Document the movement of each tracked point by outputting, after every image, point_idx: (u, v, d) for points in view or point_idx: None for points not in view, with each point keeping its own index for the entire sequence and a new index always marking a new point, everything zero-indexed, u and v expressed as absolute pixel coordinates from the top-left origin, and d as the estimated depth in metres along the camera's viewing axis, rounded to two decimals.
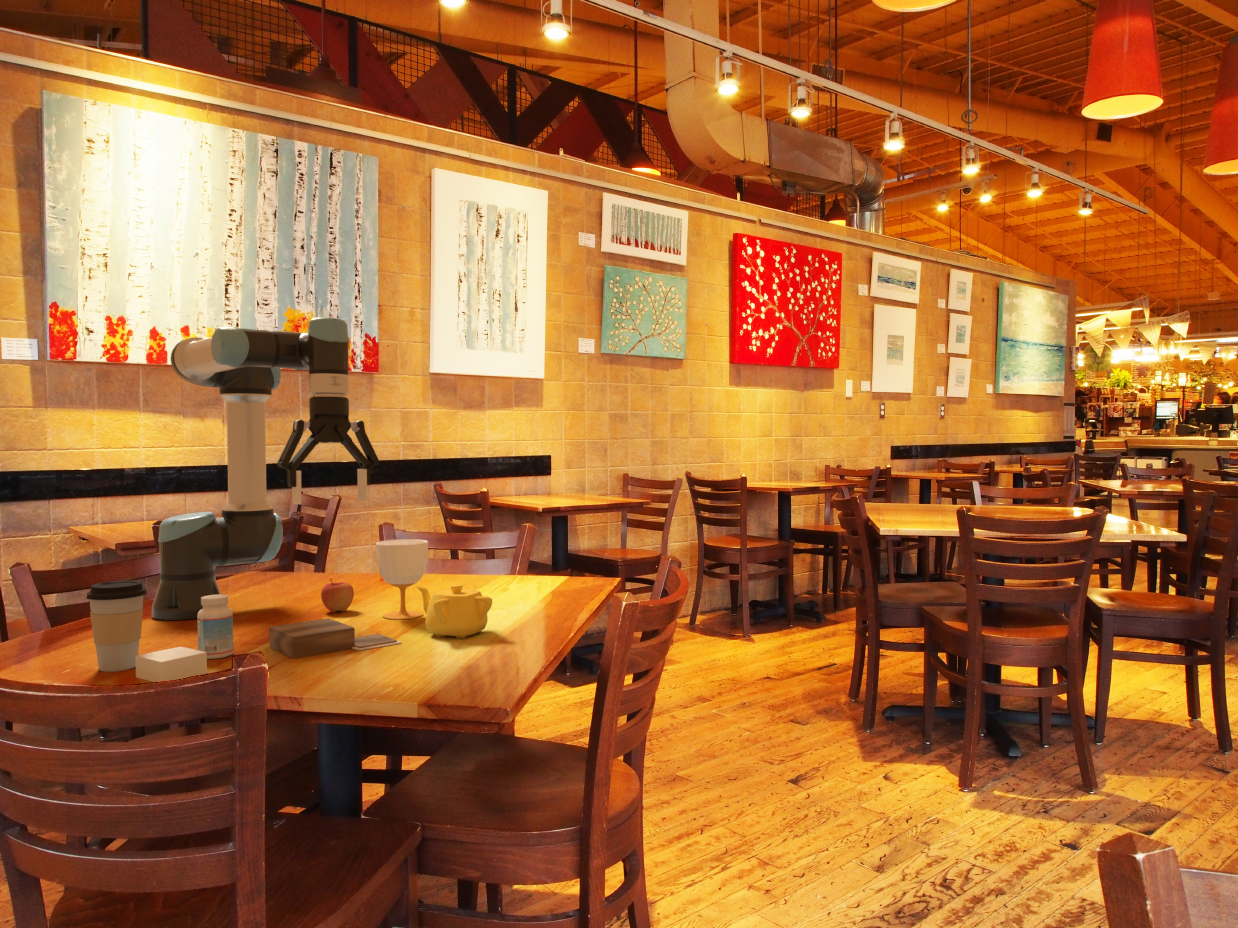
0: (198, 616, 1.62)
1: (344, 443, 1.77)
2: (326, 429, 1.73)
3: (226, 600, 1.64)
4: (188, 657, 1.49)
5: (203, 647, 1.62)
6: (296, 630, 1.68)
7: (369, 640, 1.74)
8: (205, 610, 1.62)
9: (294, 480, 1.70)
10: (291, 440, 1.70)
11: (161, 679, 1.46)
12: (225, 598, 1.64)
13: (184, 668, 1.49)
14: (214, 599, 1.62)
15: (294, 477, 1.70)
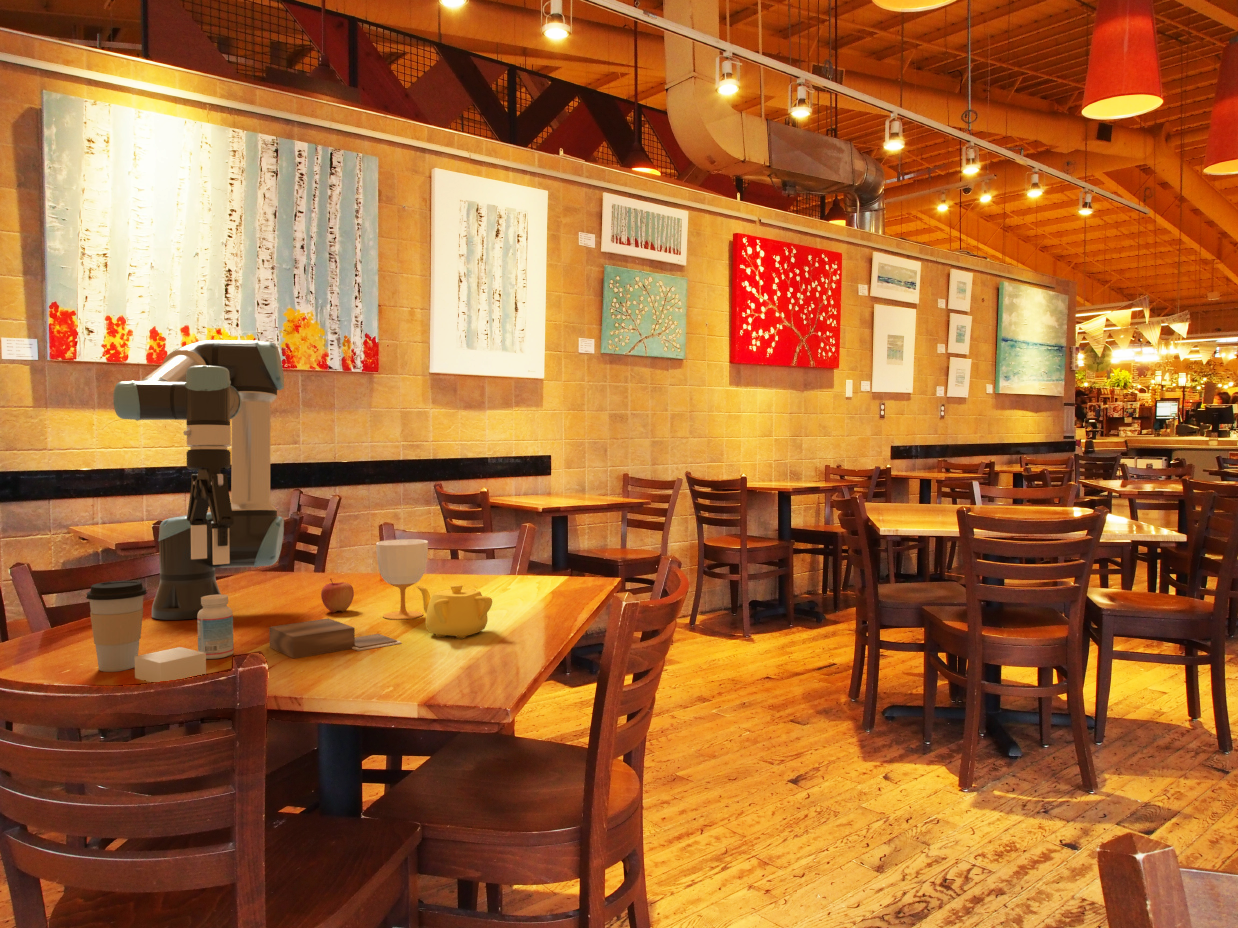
0: (198, 616, 1.62)
1: None
2: (195, 484, 1.64)
3: (226, 600, 1.64)
4: (187, 658, 1.49)
5: (203, 647, 1.62)
6: (296, 630, 1.68)
7: (369, 640, 1.74)
8: (205, 610, 1.62)
9: None
10: None
11: (160, 680, 1.45)
12: (225, 598, 1.64)
13: (183, 669, 1.48)
14: (214, 599, 1.62)
15: None
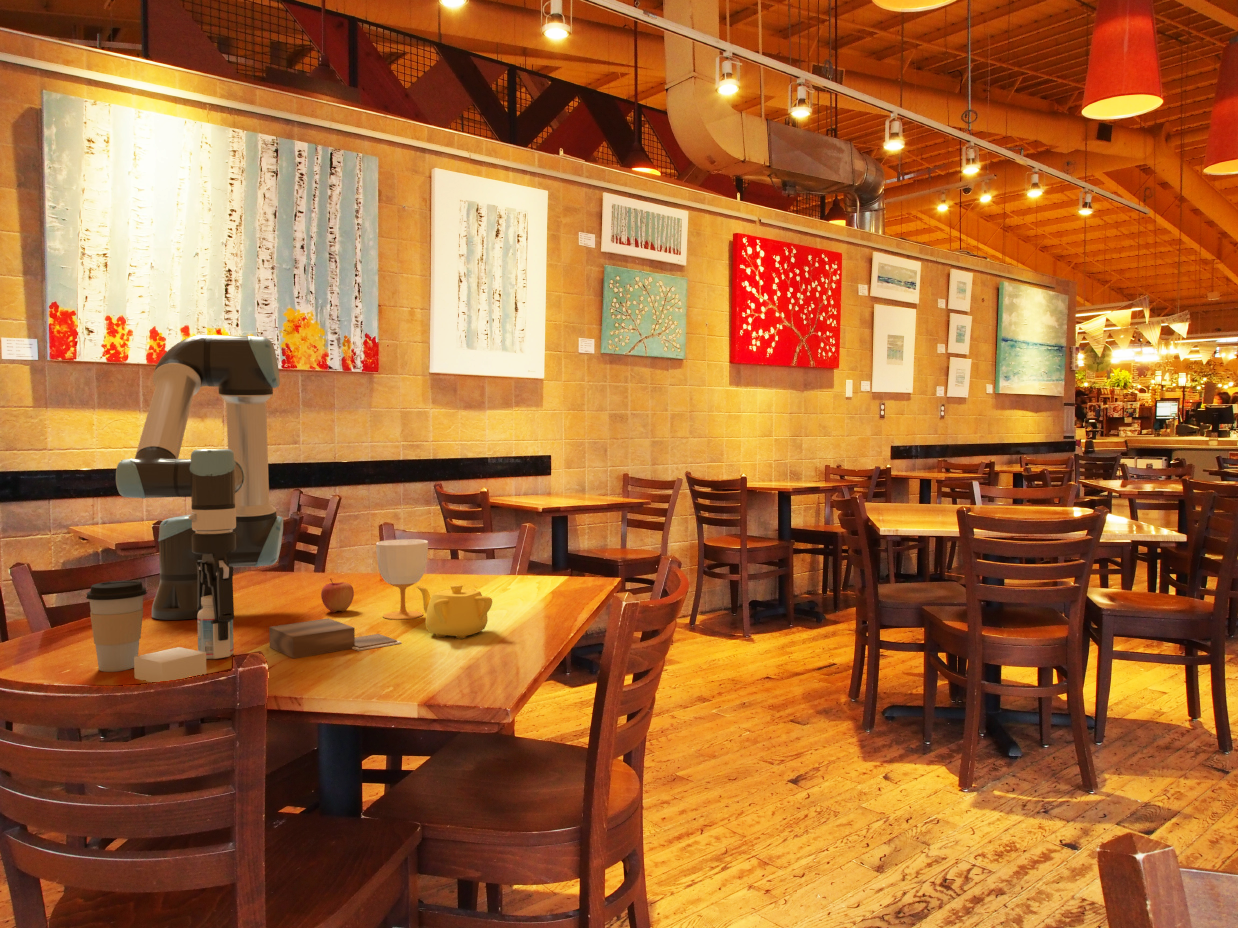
0: (198, 616, 1.62)
1: None
2: (201, 567, 1.64)
3: None
4: (188, 658, 1.49)
5: (203, 647, 1.62)
6: (296, 630, 1.68)
7: (369, 640, 1.74)
8: (205, 610, 1.62)
9: None
10: None
11: (161, 680, 1.45)
12: None
13: (184, 669, 1.48)
14: None
15: None
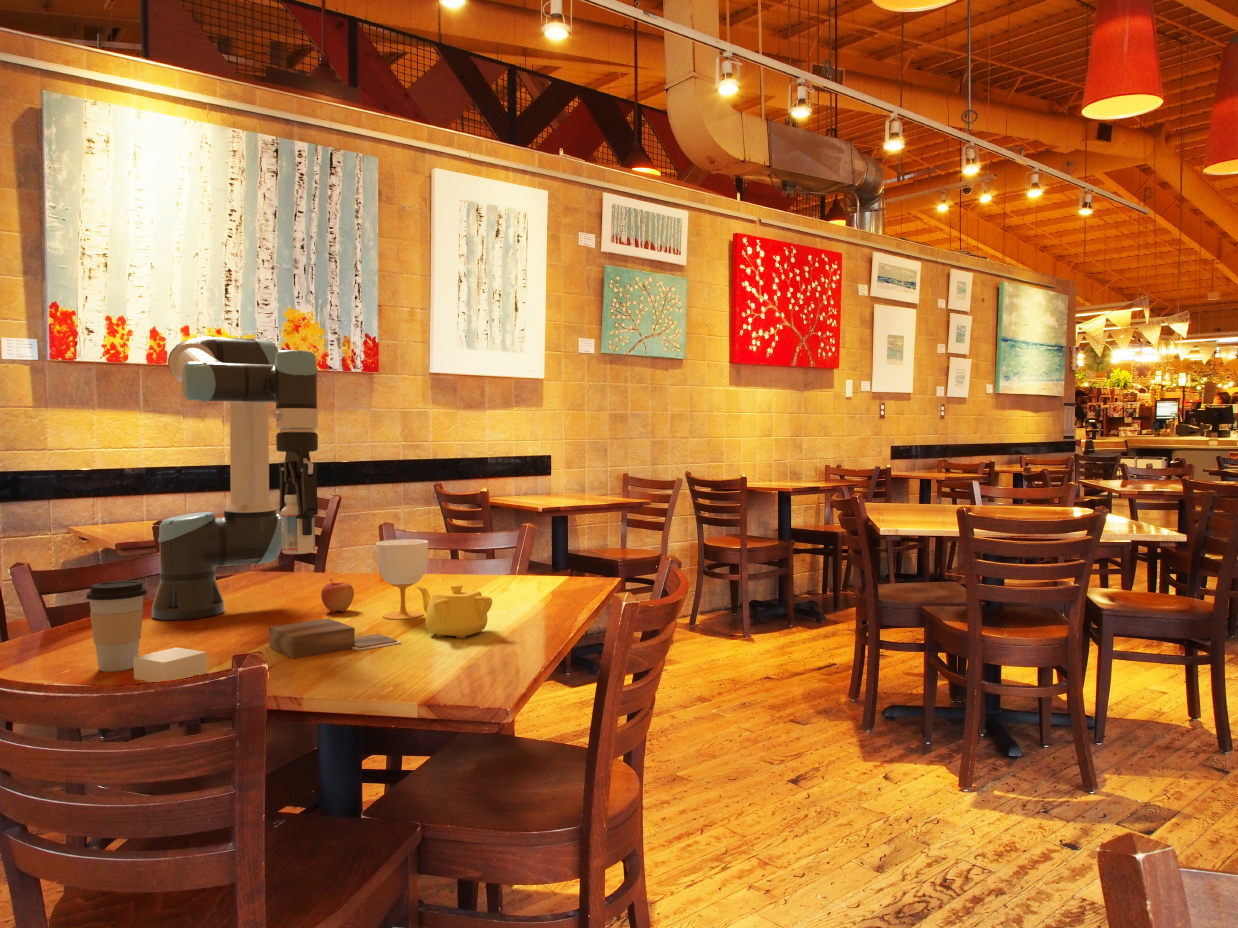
0: (282, 513, 1.67)
1: None
2: (284, 466, 1.68)
3: None
4: (189, 657, 1.49)
5: (287, 543, 1.66)
6: (296, 630, 1.68)
7: (369, 640, 1.74)
8: (289, 507, 1.67)
9: None
10: None
11: (164, 679, 1.45)
12: None
13: (185, 668, 1.49)
14: None
15: None
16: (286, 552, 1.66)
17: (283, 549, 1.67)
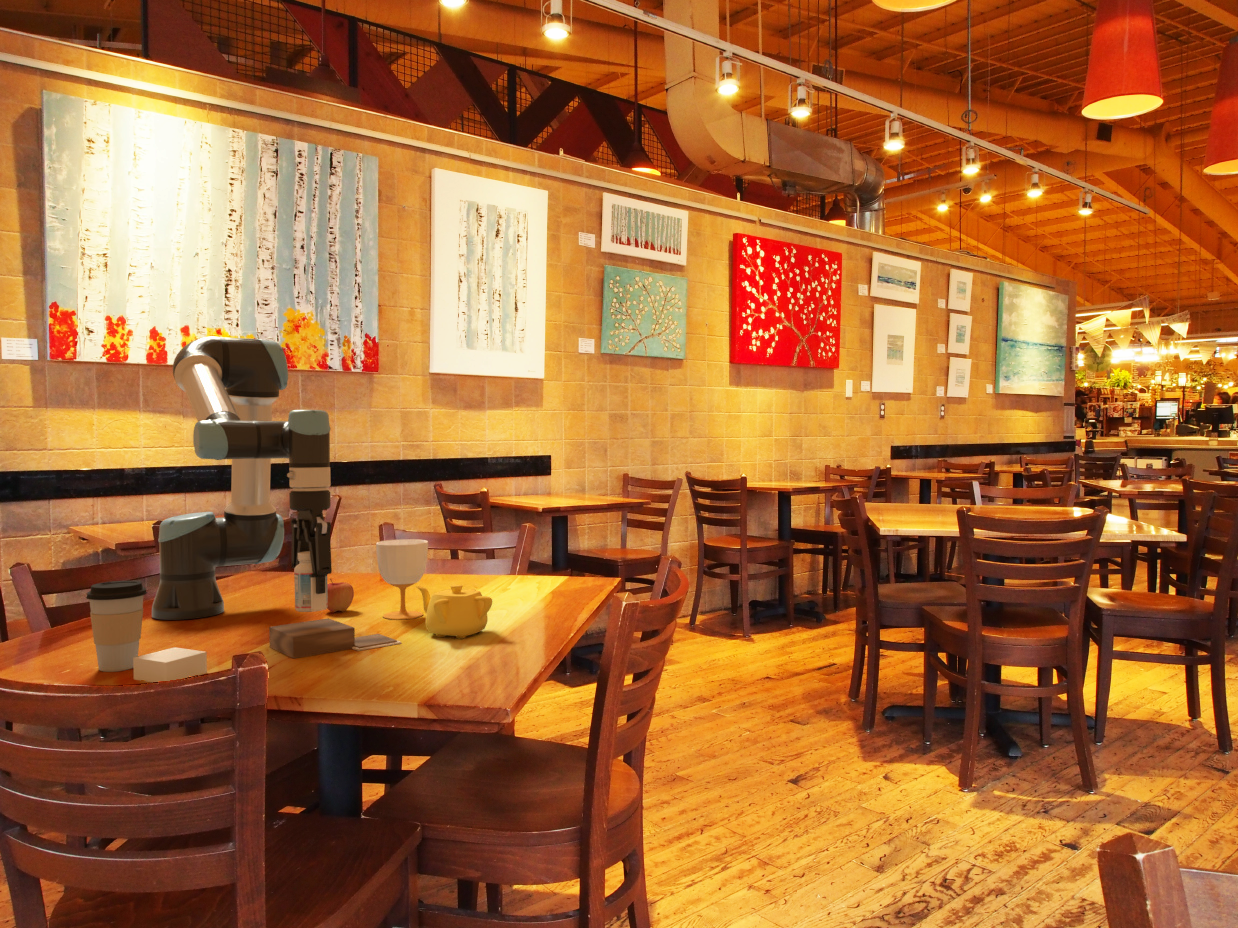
0: (295, 571, 1.68)
1: None
2: (297, 524, 1.70)
3: None
4: (190, 657, 1.49)
5: (300, 601, 1.67)
6: (296, 630, 1.68)
7: (369, 640, 1.74)
8: (302, 565, 1.68)
9: None
10: None
11: (165, 679, 1.45)
12: None
13: (186, 668, 1.49)
14: None
15: None
16: (299, 610, 1.68)
17: (296, 607, 1.68)
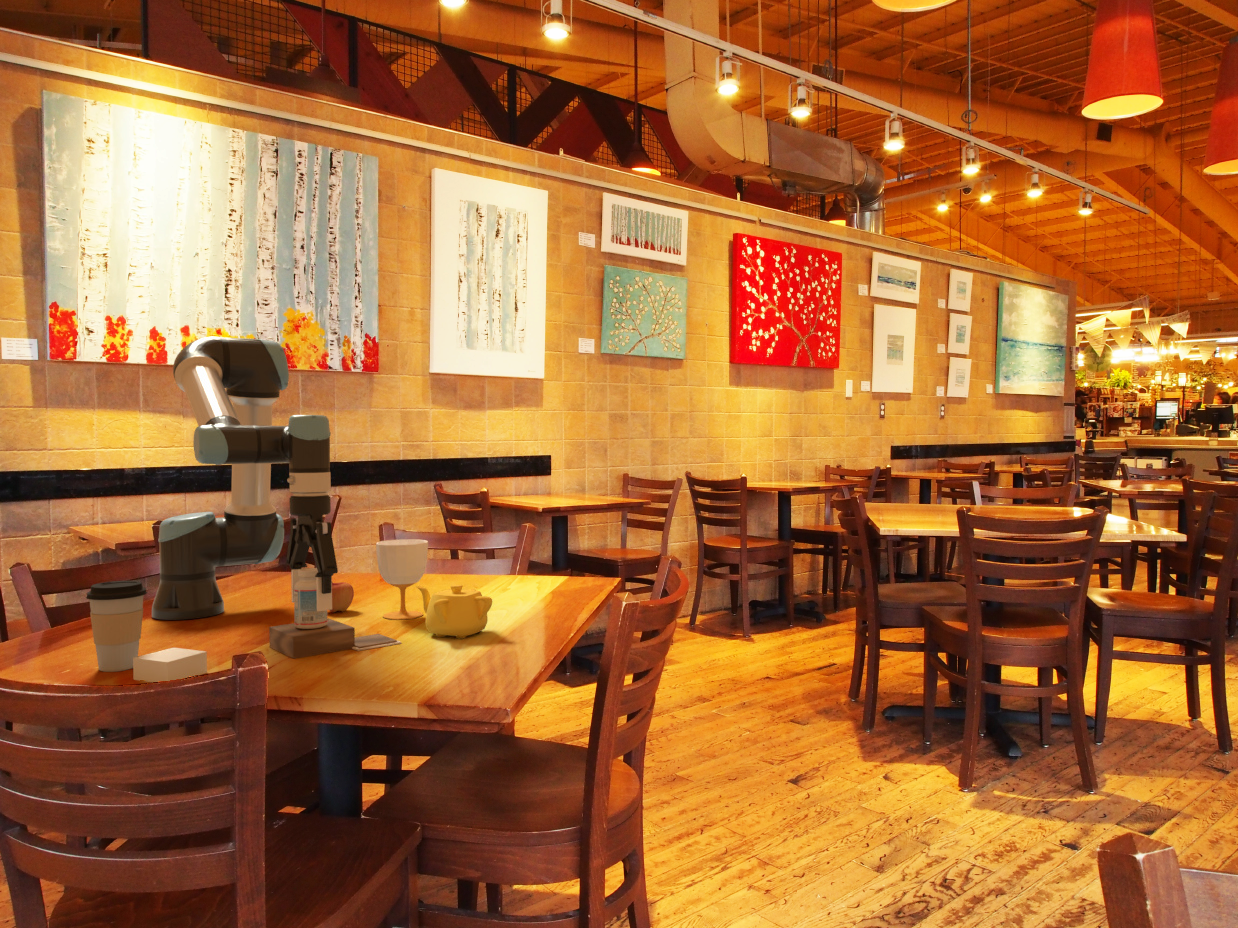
0: (295, 587, 1.69)
1: None
2: (297, 528, 1.70)
3: None
4: (191, 657, 1.50)
5: (300, 618, 1.68)
6: (296, 630, 1.68)
7: (369, 640, 1.74)
8: (302, 582, 1.68)
9: None
10: None
11: (167, 679, 1.45)
12: None
13: (187, 668, 1.49)
14: (311, 571, 1.69)
15: None
16: (299, 627, 1.68)
17: (296, 624, 1.69)
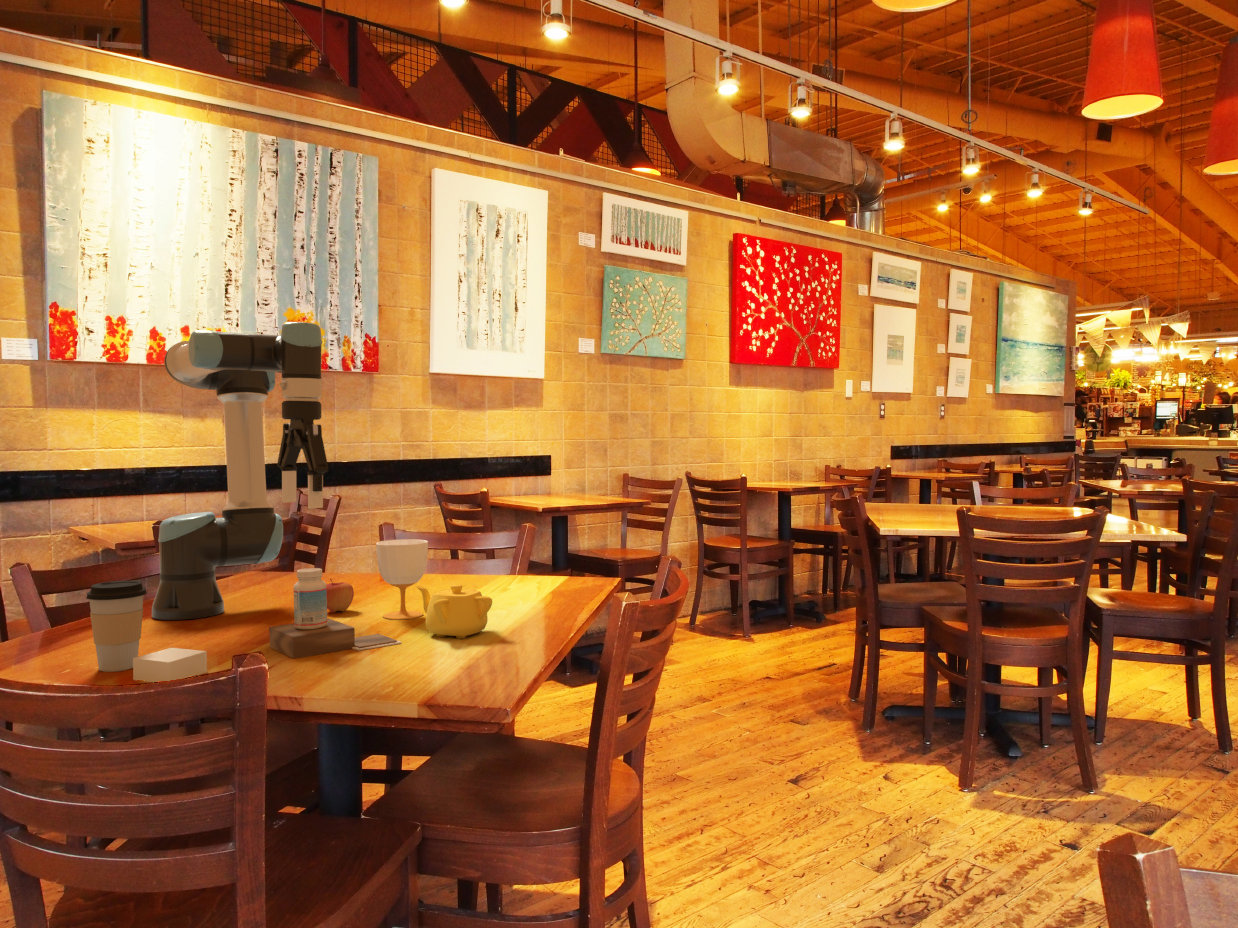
0: (295, 588, 1.68)
1: None
2: (289, 432, 1.76)
3: (320, 573, 1.70)
4: (191, 656, 1.50)
5: (300, 619, 1.68)
6: (296, 630, 1.68)
7: (369, 640, 1.74)
8: (301, 583, 1.68)
9: None
10: None
11: (169, 679, 1.45)
12: (320, 571, 1.70)
13: (188, 668, 1.49)
14: (310, 572, 1.68)
15: None
16: (299, 627, 1.68)
17: (296, 624, 1.68)
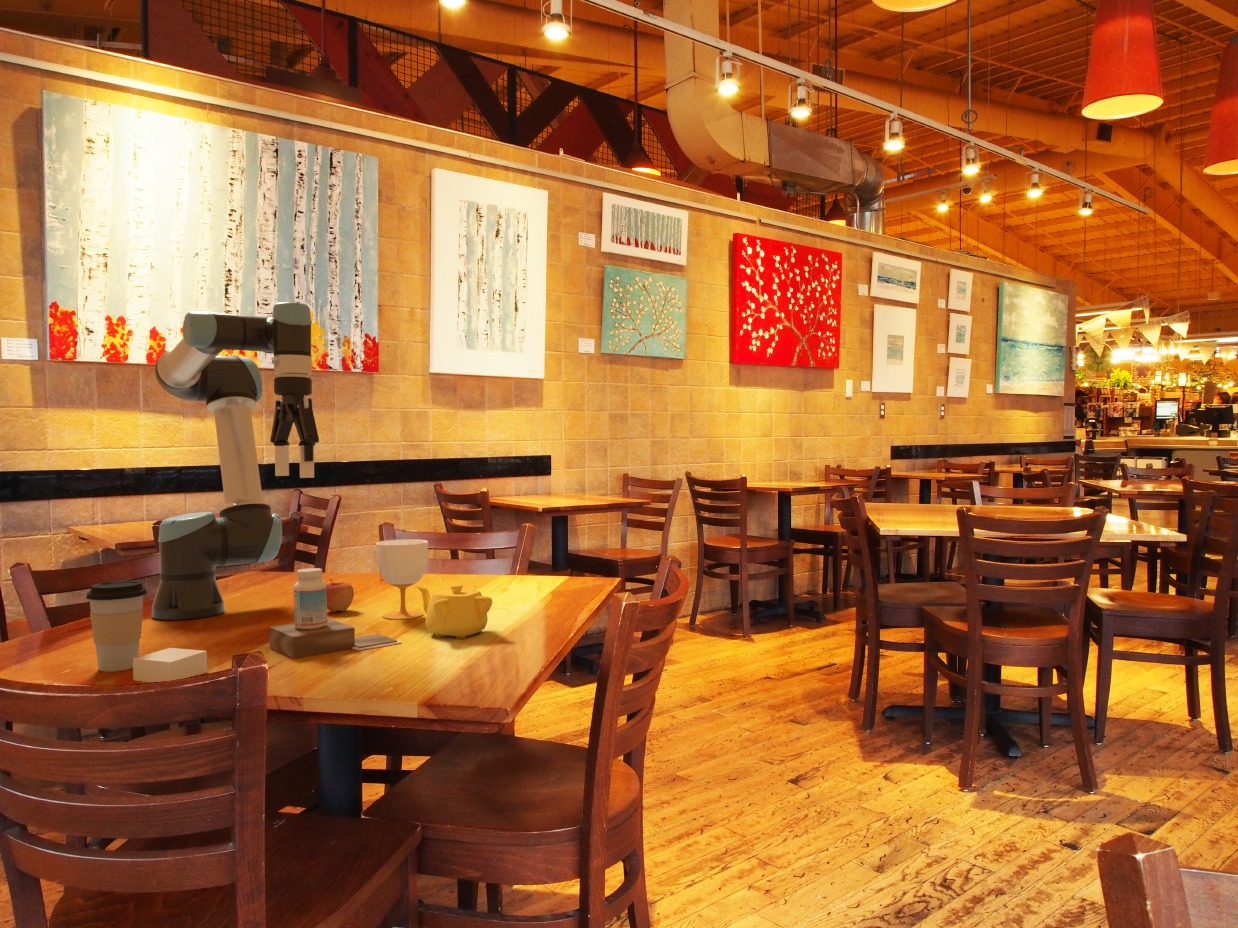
0: (294, 588, 1.68)
1: None
2: (281, 408, 1.85)
3: (320, 573, 1.70)
4: (192, 656, 1.50)
5: (299, 618, 1.68)
6: (296, 630, 1.68)
7: (369, 640, 1.74)
8: (301, 583, 1.68)
9: None
10: None
11: (170, 679, 1.46)
12: (320, 571, 1.70)
13: (188, 668, 1.49)
14: (310, 572, 1.68)
15: None
16: (299, 627, 1.68)
17: (296, 624, 1.69)
